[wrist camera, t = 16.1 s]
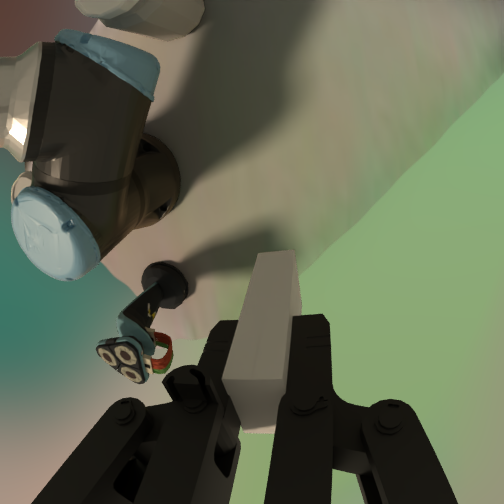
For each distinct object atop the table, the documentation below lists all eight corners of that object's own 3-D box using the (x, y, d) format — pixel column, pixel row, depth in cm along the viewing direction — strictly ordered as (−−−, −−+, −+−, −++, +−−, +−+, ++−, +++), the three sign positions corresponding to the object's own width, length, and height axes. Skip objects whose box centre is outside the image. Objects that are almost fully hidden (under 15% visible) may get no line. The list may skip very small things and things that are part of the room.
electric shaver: (140, 258, 54) (80, 330, 37) (202, 268, 53) (157, 352, 36) (145, 299, 59) (96, 373, 41) (203, 310, 57) (166, 395, 40)
